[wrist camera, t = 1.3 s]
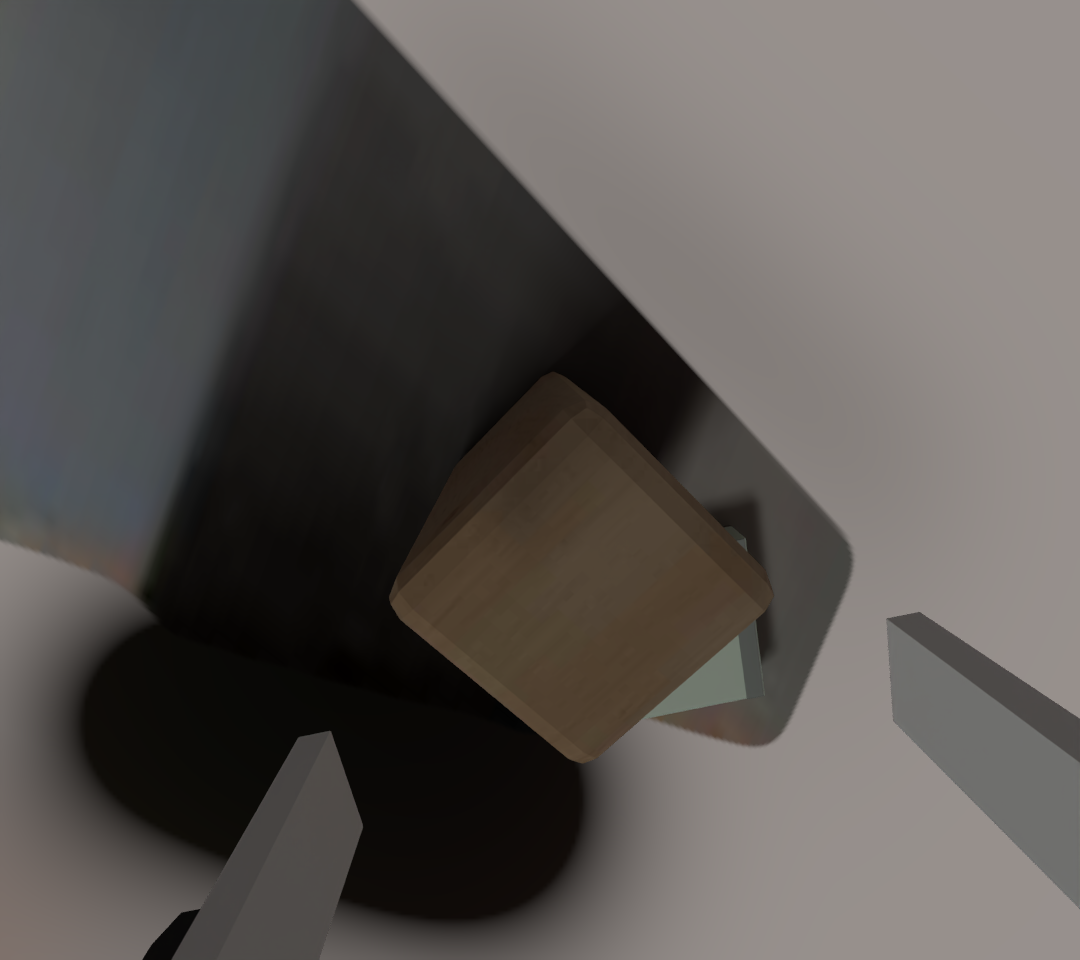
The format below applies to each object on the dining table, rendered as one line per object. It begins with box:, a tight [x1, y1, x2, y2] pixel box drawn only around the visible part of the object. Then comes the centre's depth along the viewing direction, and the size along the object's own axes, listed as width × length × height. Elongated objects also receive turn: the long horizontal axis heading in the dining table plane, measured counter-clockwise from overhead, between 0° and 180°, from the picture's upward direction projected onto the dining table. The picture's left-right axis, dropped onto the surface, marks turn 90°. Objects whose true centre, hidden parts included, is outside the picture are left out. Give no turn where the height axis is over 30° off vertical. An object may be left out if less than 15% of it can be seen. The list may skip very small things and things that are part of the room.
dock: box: [642, 526, 765, 719], centre depth 39 cm, size 12×12×3 cm
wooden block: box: [389, 372, 774, 763], centre depth 28 cm, size 10×10×20 cm
